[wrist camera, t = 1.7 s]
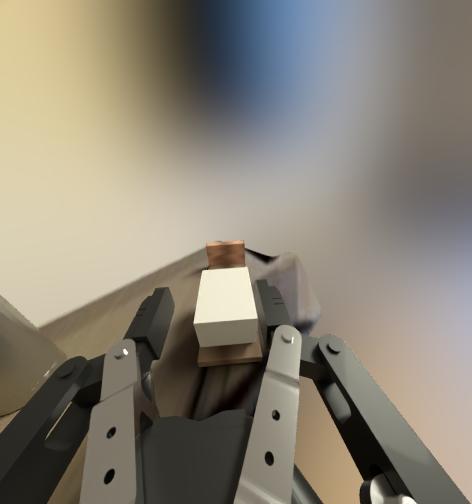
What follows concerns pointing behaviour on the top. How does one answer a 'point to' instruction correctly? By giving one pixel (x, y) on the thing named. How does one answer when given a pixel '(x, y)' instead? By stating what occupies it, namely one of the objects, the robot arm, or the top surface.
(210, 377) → the top surface
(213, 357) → the walnut track
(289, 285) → the top surface
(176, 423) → the robot arm
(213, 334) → the cream white block
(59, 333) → the top surface
